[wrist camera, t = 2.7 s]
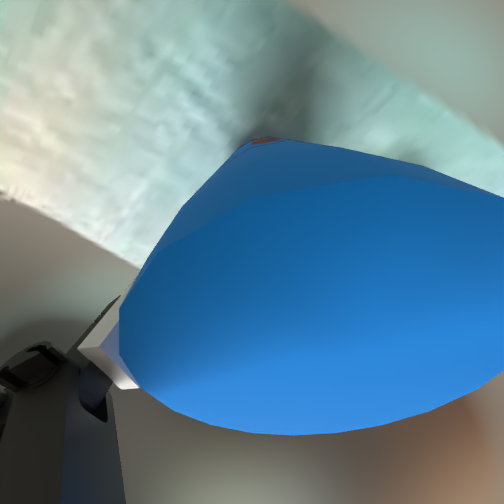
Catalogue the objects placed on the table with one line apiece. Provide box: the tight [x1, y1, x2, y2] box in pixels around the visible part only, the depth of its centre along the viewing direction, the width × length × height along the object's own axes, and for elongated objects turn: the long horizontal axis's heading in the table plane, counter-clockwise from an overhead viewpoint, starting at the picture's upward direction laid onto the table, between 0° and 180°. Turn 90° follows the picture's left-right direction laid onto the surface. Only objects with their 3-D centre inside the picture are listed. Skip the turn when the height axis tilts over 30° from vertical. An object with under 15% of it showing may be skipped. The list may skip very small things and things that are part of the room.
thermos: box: [119, 137, 504, 435], centre depth 16 cm, size 11×11×25 cm
